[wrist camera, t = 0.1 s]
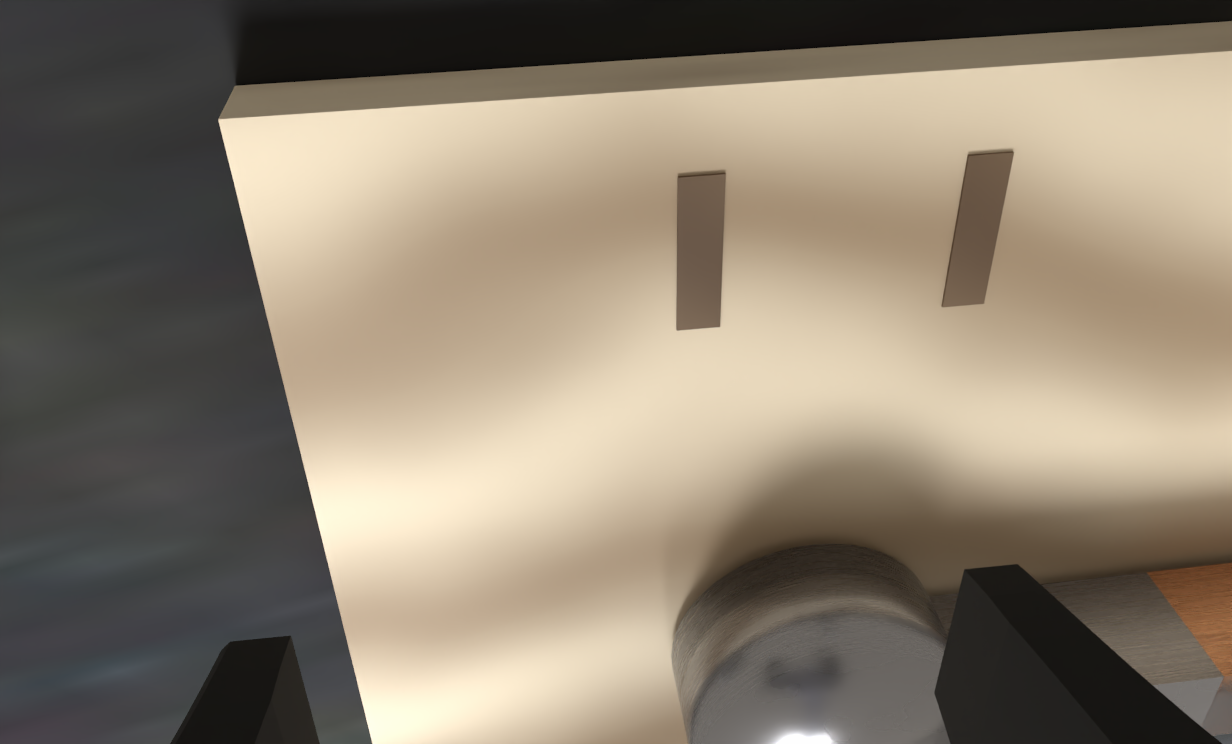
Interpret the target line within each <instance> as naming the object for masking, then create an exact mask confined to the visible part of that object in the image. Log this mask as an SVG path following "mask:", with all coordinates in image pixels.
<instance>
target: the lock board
mask: <svg viewBox="0 0 1232 744" xmlns="http://www.w3.org/2000/svg"><path fill="white" fill-rule="evenodd" d="M218 120H219V124H220V128H221V132H222V137H223V141H224V145H225V149H226V153H227V157H228V161H229V165H230V169H231V173H232V177H233V181H234V185H235V189H236V193H237V197H238V201H239V205H240V209H241V213H242V217H243V221H244V226H245V230H246V234H247V238H248V242H249V246H250V250H251V254H252V258H253V262H254V266H255V270H256V274H257V278H258V282H259V286H260V290H261V294H262V298H263V302H264V306H265V311H266V315H267V319H268V323H269V327H270V331H271V335H272V339H273V343H274V347H275V351H276V355H277V359H278V363H279V367H280V371H281V375H282V379H283V383H284V387H285V391H286V395H287V400H288V404H289V408H290V412H291V416H292V420H293V424H294V428H295V432H296V436H297V440H298V444H299V448H300V452H301V456H302V460H303V464H304V468H305V472H306V476H307V480H308V484H309V489H310V493H311V497H312V501H313V505H314V509H315V513H316V517H317V521H318V525H319V529H320V533H321V537H322V541H323V545H324V549H325V553H326V557H327V561H328V565H329V569H330V574H331V578H332V582H333V586H334V590H335V594H336V598H337V602H338V606H339V610H340V614H341V618H342V622H343V626H344V630H345V634H346V638H347V642H348V646H349V650H350V654H351V658H352V663H353V667H354V671H355V675H356V679H357V683H358V687H359V691H360V695H361V699H362V703H363V707H364V711H365V715H366V719H367V723H368V727H369V731H370V735H371V739H372V743H373V744H688V740H687V735H686V730H685V725H684V721H683V716H682V711H681V706H680V702H679V697H678V692H677V687H676V683H675V678H674V673H673V668H672V659H671V654H672V644H673V640H674V637H675V634H676V631H677V629H678V627H679V624H680V622H681V620H682V619H683V617H684V616H685V614H686V613H687V611H688V610H689V608H690V607H691V606H692V604H693V603H694V602H695V601H696V600H697V599H698V598H699V596H700V595H702V594H703V593H704V592H705V591H706V590H707V589H708V588H709V587H710V586H711V585H713V584H714V583H715V582H717V581H718V580H720V579H721V578H722V577H724V576H725V575H727V574H728V573H730V572H732V571H733V570H735V569H737V568H739V567H740V566H742V565H744V564H747V563H749V562H751V561H753V560H755V559H757V558H760V557H763V556H766V555H769V554H771V553H774V552H778V551H782V550H786V549H790V548H794V547H800V546H806V545H814V544H848V545H855V546H861V547H866V548H870V549H873V550H877V551H880V552H882V553H884V554H887V555H889V556H891V557H893V558H895V559H897V560H898V561H900V562H901V563H903V564H904V565H906V566H907V567H908V568H909V569H910V570H911V571H912V572H914V574H915V575H916V576H917V577H918V579H919V580H920V581H921V583H922V585H923V587H924V589H925V590H926V592H927V594H928V596H938V595H947V594H956V593H959V588H960V584H961V580H962V576H963V572H964V569H972V568H982V567H992V566H1002V565H1012V564H1018V565H1019V566H1021V567H1022V568H1023V569H1024V570H1025V571H1026V572H1027V573H1028V574H1030V575H1031V576H1032V577H1033V578H1034V579H1035V580H1036V581H1037V582H1038V583H1040V584H1046V583H1054V582H1063V581H1072V580H1081V579H1090V578H1099V577H1108V576H1117V575H1126V574H1135V573H1144V572H1153V571H1162V570H1171V569H1180V568H1189V567H1198V566H1207V565H1215V564H1224V563H1232V21H1226V22H1211V23H1195V24H1180V25H1164V26H1149V27H1134V28H1118V29H1103V30H1087V31H1072V32H1056V33H1041V34H1026V35H1010V36H995V37H979V38H964V39H949V40H933V41H918V42H902V43H887V44H871V45H856V46H841V47H825V48H810V49H794V50H779V51H763V52H748V53H733V54H717V55H702V56H686V57H671V58H656V59H640V60H625V61H609V62H594V63H578V64H563V65H548V66H532V67H517V68H501V69H486V70H470V71H455V72H440V73H424V74H409V75H393V76H378V77H362V78H347V79H332V80H316V81H301V82H285V83H270V84H254V85H239V86H235V87H234V89H233V91H232V93H231V95H230V97H229V99H228V101H227V103H226V105H225V107H224V109H223V111H222V113H221V115H220V117H219V119H218Z"/></svg>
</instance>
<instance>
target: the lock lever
mask: <svg viewBox="0 0 1232 744" xmlns="http://www.w3.org/2000/svg"><path fill="white" fill-rule="evenodd" d="M1041 585H1042V586H1043V587H1044V588H1045V589H1046V590H1047V591H1048V592H1050V593H1051V594H1052V595H1053V596H1054V597H1055V598H1056V599H1057V600H1058V601H1059V602H1060V603H1062V604H1063V605H1064V606H1065V607H1066V608H1067V609H1068V610H1069V611H1070V612H1071V613H1073V614H1074V615H1075V616H1076V617H1077V618H1078V619H1079V620H1080V621H1081V622H1082V623H1083V624H1085V625H1086V626H1087V627H1088V628H1089V629H1090V630H1091V631H1092V632H1093V633H1094V634H1096V635H1097V636H1098V637H1099V638H1100V639H1101V640H1102V641H1103V642H1105V643H1106V644H1107V645H1108V646H1109V647H1110V648H1111V649H1112V650H1113V651H1115V652H1116V653H1117V654H1118V655H1119V656H1120V657H1121V658H1122V659H1123V660H1125V661H1126V662H1127V663H1128V664H1129V665H1130V666H1131V667H1132V668H1134V669H1135V670H1136V671H1137V672H1138V673H1139V674H1140V675H1142V676H1143V677H1144V678H1145V679H1146V680H1147V681H1148V682H1149V683H1151V684H1152V685H1153V686H1154V687H1155V688H1156V689H1158V690H1159V691H1160V692H1161V693H1162V694H1163V695H1165V696H1166V697H1167V698H1168V699H1169V700H1170V701H1172V702H1173V703H1174V704H1175V705H1176V706H1177V707H1179V708H1180V709H1181V710H1182V711H1183V712H1184V713H1186V714H1187V715H1188V716H1189V717H1190V718H1192V719H1193V720H1194V721H1195V722H1196V723H1197V724H1199V725H1200V726H1201V727H1202V728H1204V729H1205V730H1206V731H1207V732H1208V733H1210V734H1211V735H1212V736H1213V735H1221V734H1229V733H1232V563H1224V564H1215V565H1207V566H1198V567H1189V568H1180V569H1171V570H1162V571H1153V572H1144V573H1135V574H1126V575H1117V576H1108V577H1099V578H1090V579H1081V580H1072V581H1063V582H1054V583H1046V584H1041ZM957 597H958V593H956V594H947V595H938V596H928V594H927V592H926V590H925V589H924V587H923V585H922V583H921V581H920V580H919V579H918V577H917V576H916V575H915V574H914V572H912V571H911V570H910V569H909V568H908V567H907V566H906V565H904V564H903V563H901V562H900V561H898V560H897V559H895V558H893V557H891V556H889V555H887V554H884V553H882V552H880V551H877V550H873V549H870V548H866V547H861V546H855V545H848V544H814V545H806V546H800V547H794V548H790V549H786V550H782V551H778V552H774V553H771V554H769V555H766V556H763V557H760V558H757V559H755V560H753V561H751V562H749V563H747V564H744V565H742V566H740V567H739V568H737V569H735V570H733V571H732V572H730V573H728V574H727V575H725V576H724V577H722V578H721V579H720V580H718V581H717V582H715V583H714V584H713V585H711V586H710V587H709V588H708V589H707V590H706V591H705V592H704V593H703V594H702V595H700V596H699V598H698V599H697V600H696V601H695V602H694V603H693V604H692V606H691V607H690V608H689V610H688V611H687V613H686V614H685V616H684V617H683V619H682V620H681V622H680V624H679V627H678V629H677V631H676V634H675V637H674V640H673V644H672V654H671V659H672V668H673V673H674V678H675V683H676V687H677V692H678V697H679V702H680V706H681V711H682V716H683V721H684V725H685V730H686V735H687V740H688V744H950V741H949V738H948V735H947V732H946V728H945V725H944V722H943V719H942V716H941V713H940V709H939V706H938V703H937V700H936V697H935V694H934V691H935V687H936V683H937V679H938V675H939V671H940V667H941V662H942V658H943V654H944V650H945V646H946V642H947V638H948V634H949V630H950V625H951V621H952V617H953V613H954V609H955V605H956V601H957Z"/></svg>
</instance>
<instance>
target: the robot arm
mask: <svg viewBox="0 0 1232 744" xmlns="http://www.w3.org/2000/svg"><path fill="white" fill-rule="evenodd" d="M934 694H935V697H936V700H937V703H938V706H939V709H940V713H941V716H942V719H943V722H944V725H945V728H946V732H947V735H948V738H949V741H950V744H1222V743H1221V742H1219V741H1218V740H1217V739H1216V738H1214V737H1213V736H1212V735H1211V734H1210V733H1208V732H1207V731H1206V730H1205V729H1204V728H1202V727H1201V726H1200V725H1199V724H1197V723H1196V722H1195V721H1194V720H1193V719H1192V718H1190V717H1189V716H1188V715H1187V714H1186V713H1184V712H1183V711H1182V710H1181V709H1180V708H1179V707H1177V706H1176V705H1175V704H1174V703H1173V702H1172V701H1170V700H1169V699H1168V698H1167V697H1166V696H1165V695H1163V694H1162V693H1161V692H1160V691H1159V690H1158V689H1156V688H1155V687H1154V686H1153V685H1152V684H1151V683H1149V682H1148V681H1147V680H1146V679H1145V678H1144V677H1143V676H1142V675H1140V674H1139V673H1138V672H1137V671H1136V670H1135V669H1134V668H1132V667H1131V666H1130V665H1129V664H1128V663H1127V662H1126V661H1125V660H1123V659H1122V658H1121V657H1120V656H1119V655H1118V654H1117V653H1116V652H1115V651H1113V650H1112V649H1111V648H1110V647H1109V646H1108V645H1107V644H1106V643H1105V642H1103V641H1102V640H1101V639H1100V638H1099V637H1098V636H1097V635H1096V634H1094V633H1093V632H1092V631H1091V630H1090V629H1089V628H1088V627H1087V626H1086V625H1085V624H1083V623H1082V622H1081V621H1080V620H1079V619H1078V618H1077V617H1076V616H1075V615H1074V614H1073V613H1071V612H1070V611H1069V610H1068V609H1067V608H1066V607H1065V606H1064V605H1063V604H1062V603H1060V602H1059V601H1058V600H1057V599H1056V598H1055V597H1054V596H1053V595H1052V594H1051V593H1050V592H1048V591H1047V590H1046V589H1045V588H1044V587H1043V586H1042V585H1041V584H1040V583H1038V582H1037V581H1036V580H1035V579H1034V578H1033V577H1032V576H1031V575H1030V574H1028V573H1027V572H1026V571H1025V570H1024V569H1023V568H1022V567H1021V566H1019V565H1018V564H1012V565H1002V566H992V567H982V568H972V569H964V572H963V576H962V580H961V584H960V588H959V593H958V597H957V601H956V605H955V609H954V613H953V617H952V621H951V625H950V630H949V634H948V638H947V642H946V646H945V650H944V654H943V658H942V662H941V667H940V671H939V675H938V679H937V683H936V687H935V691H934ZM170 744H319V740H318V736H317V732H316V729H315V725H314V721H313V717H312V714H311V710H310V706H309V702H308V699H307V695H306V691H305V687H304V684H303V680H302V676H301V672H300V669H299V665H298V661H297V657H296V654H295V650H294V646H293V642H292V639H291V636H283V637H273V638H263V639H253V640H243V641H233V642H230V643H228V644H227V645H226V646H225V647H224V648H223V649H222V650H221V652H220V654H219V656H218V658H217V660H216V662H215V664H214V665H213V667H212V669H211V671H210V673H209V675H208V677H207V679H206V681H205V683H204V684H203V686H202V688H201V690H200V692H199V694H198V696H197V697H196V699H195V701H194V703H193V705H192V706H191V708H190V710H189V712H188V714H187V715H186V717H185V719H184V721H183V723H182V724H181V726H180V728H179V730H178V731H177V733H176V735H175V737H174V738H173V740H172V742H171V743H170Z"/></svg>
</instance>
